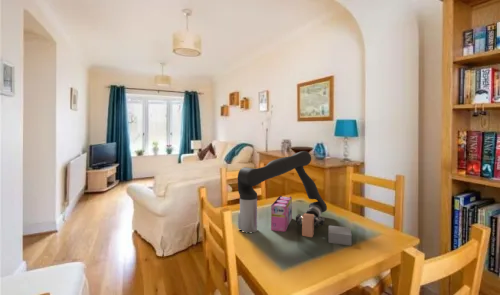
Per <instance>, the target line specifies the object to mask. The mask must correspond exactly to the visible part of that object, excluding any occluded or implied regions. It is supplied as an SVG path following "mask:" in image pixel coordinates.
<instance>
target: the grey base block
mask: <svg viewBox="0 0 500 295" xmlns="http://www.w3.org/2000/svg"><path fill="white" fill-rule="evenodd" d="M352 236H353V235H352V231H351V227H349V226H348V227H347V226H337V225H328V239H327V240H328V243H329V244H337V245H344V246H352Z"/></svg>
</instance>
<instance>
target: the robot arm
mask: <svg viewBox="0 0 500 295" xmlns="http://www.w3.org/2000/svg"><path fill="white" fill-rule="evenodd" d="M311 162H312V156H311V154H310V153H309V152H308V151H306V150H302V151H299V152H296V153H293V154H292V155H289V156H285V157H279V158H275V159H273V160H270V161H269V162H268V163H267V164H266V165H264V166H262V167H257V168H253V167H248V166H246V167H245V166H244V167H242V168H240V169H239V171H238V173H237V191H238V192H237V193H238V194H239V211H238V213H237V216H238V217H237V219H238V221H237V222H238V223H237V226H238V227H237V228H239V229H241V230H242V231H244V232H254V233H257V231H258V193H257V191H256V190H255V189H254V187H255V186H258V185H259V184H261V183H263V182H265V181H267V180H269V179H273V178H275V177H278V176H279V177H280V176H282V175H284V174H286V173H288V172H291V171H292V170H295V171H296V173H297V175H298V176H299V178H300V180H301V182H302V185H303V187H304V190H305V191H306V192H305V193H306V194H307V198H308V199H309V200H316V201H314V202H310V203H309V205H308V206H309V207H308V209H307V210H306V212H305V213H306V214H314V228H318V227H320V226H324V224H325V217H323V216H322V217H321V215H322V213H325V212H327V209H328V207H327V204H326V202H325V201H324V199H323V198H322V197H321V194H320V193H319V192H320V191H319V190H318V187H317V185H316V182H315V181H314V180H313V179H312V177H311V176H309V174H308V173H307V172H306V170H305V168H304V167H306V166H308V165H309V164H310V163H311ZM302 216H303V215H301V214H300V213H298V214H297V215H296V216H295V222H296V223H297V224H298V225H302Z"/></svg>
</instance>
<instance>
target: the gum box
mask: <svg viewBox="0 0 500 295" xmlns="http://www.w3.org/2000/svg"><path fill="white" fill-rule="evenodd" d="M292 200H293V198H292V196H291V195H290V196H289V197H287V196H283V195H279V196H277V198H276V199H275V201H273V203H272V204H271V206H270V207H271V208H270V209H271V210H270V211H271V212H270V218H271V219H270V229H271V231H276V232H284V233H285V232H287V229H288V227H289V225H290V223H291V221H292V219H293V205H292V203H293V201H292Z"/></svg>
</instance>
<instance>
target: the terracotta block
mask: <svg viewBox="0 0 500 295" xmlns="http://www.w3.org/2000/svg"><path fill="white" fill-rule="evenodd" d="M301 216H302V219H301V221H302V223H301V236H303V237H308V238H313V237H314V234H315V224H314V214H306V212H304V213H303V214H302V215H301Z"/></svg>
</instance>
